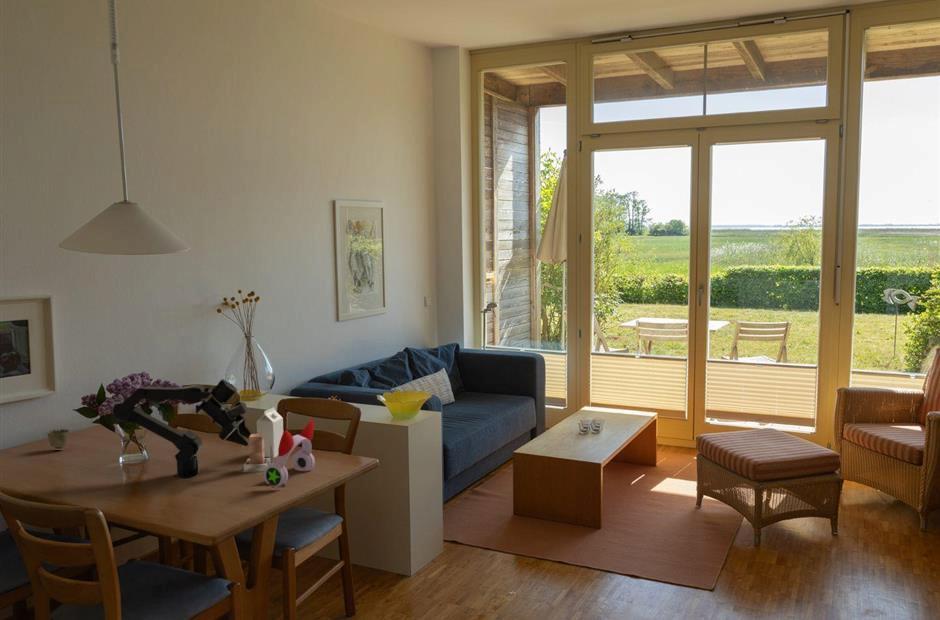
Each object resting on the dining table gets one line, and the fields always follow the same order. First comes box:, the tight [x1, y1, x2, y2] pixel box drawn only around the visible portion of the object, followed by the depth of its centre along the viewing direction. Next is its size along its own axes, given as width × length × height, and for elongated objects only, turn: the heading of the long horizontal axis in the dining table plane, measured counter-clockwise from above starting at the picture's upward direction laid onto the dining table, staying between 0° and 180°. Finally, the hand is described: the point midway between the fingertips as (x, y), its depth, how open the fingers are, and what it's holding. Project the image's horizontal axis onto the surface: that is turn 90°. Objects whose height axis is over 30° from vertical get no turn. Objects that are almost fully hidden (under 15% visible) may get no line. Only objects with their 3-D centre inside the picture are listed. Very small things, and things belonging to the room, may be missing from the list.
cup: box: [47, 428, 69, 450], centre depth 307 cm, size 8×7×8 cm
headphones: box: [263, 419, 316, 488], centre depth 266 cm, size 20×10×20 cm, turn 159°
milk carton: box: [256, 406, 284, 458], centre depth 293 cm, size 7×7×19 cm
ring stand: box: [232, 446, 275, 476], centre depth 275 cm, size 12×12×10 cm
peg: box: [248, 433, 266, 464], centre depth 275 cm, size 4×4×12 cm
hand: (250, 441), depth 275 cm, fingers open, 9 cm apart
